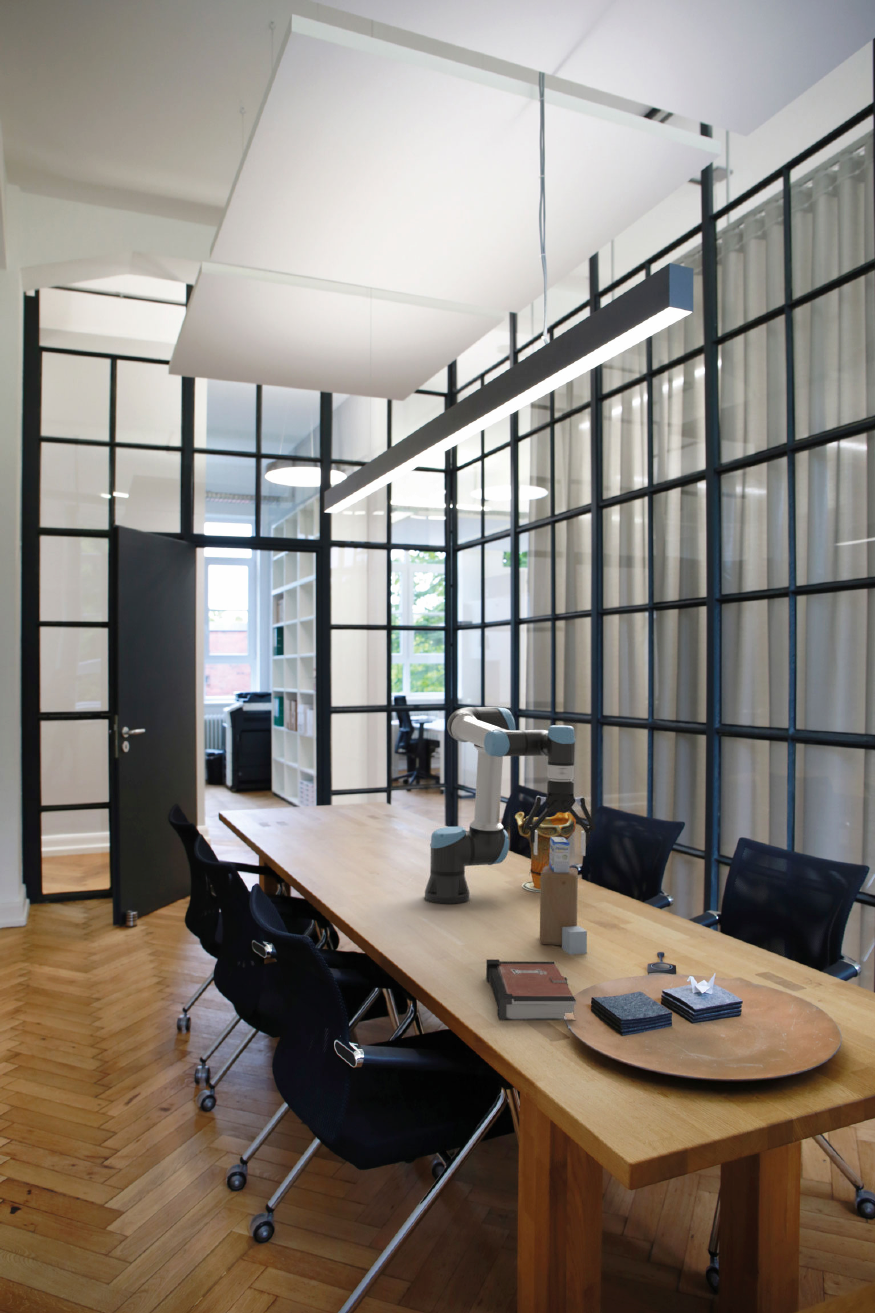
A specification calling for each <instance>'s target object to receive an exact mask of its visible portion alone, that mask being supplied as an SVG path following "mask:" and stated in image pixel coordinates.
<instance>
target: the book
mask: <svg viewBox="0 0 875 1313" xmlns="http://www.w3.org/2000/svg"><path fill="white" fill-rule="evenodd" d="M485 977H486V982H487V983H488V984H490V987H491V990H492V993H493V997H494V1000H495V1002H496V1003H495V1004H496V1006H497V1018H498V1021H566V1020H565V1019H564V1016H565V1013H572V1012H573V1013H574V1014H575V1006H576V1005H577V999H576V998H575V997H574V995H573V993H572V991H571V989H570V987H569V983H568V978H567V977H564V975H562V973H561V972H560V970H559V968H558V967H557V965H556V963H555V962H554V961H519V960H518V961H503V960H502V961H501V960H500V959H498V958H497V959H494V958H493V959H492V958H491V959H489V958H488V959H486V976H485Z"/></svg>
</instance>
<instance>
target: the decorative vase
mask: <svg viewBox="0 0 875 1313" xmlns="http://www.w3.org/2000/svg"><path fill="white" fill-rule="evenodd" d="M538 817H539V816H538ZM538 817H536V816H535V817H534V819H533V821H532V823H531V825H532V824H533V823H534V822H535V821H536V820H537V819H538ZM527 818H528V816H526V817H525V813H524V812H523V811H519V812H517V813H516V814H515V815H514V819H515V820H516V823H517V829H518V833H519V835H520V836H522V837H524V838H526V839H527V840H528V842H529V847H530V871H529V875H528V876H531V880H532V881H528V879H529V878H528V879H527V881H525V882H522V884H521V888H523V889H524V890H527V891H530V892H535V893H540V884H541V873H542V871H543V868H544V867H546V866H549V858H550V837H563V838H565V839H566V840H567V841H568V839H569V838H570V837H571V836H572V835H573V833H574V832H575V830H576V827H577V826H576V824H577V821H576V819H575V818H574V817H573V816H572V814H571V813H570V812H566V813H562V812H559V813H555V815H553V816H551V817H548V816H547V817H546V818H545V820H544V821H543V822H542V823H541V824H540V825H539V826H538V828H537V829H536V830H537V832H538V845H537V855H534V843H533V842H531V841H530V830H528V829H525V827H524V824H525V822H526V820H527ZM530 874H531V875H530Z"/></svg>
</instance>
